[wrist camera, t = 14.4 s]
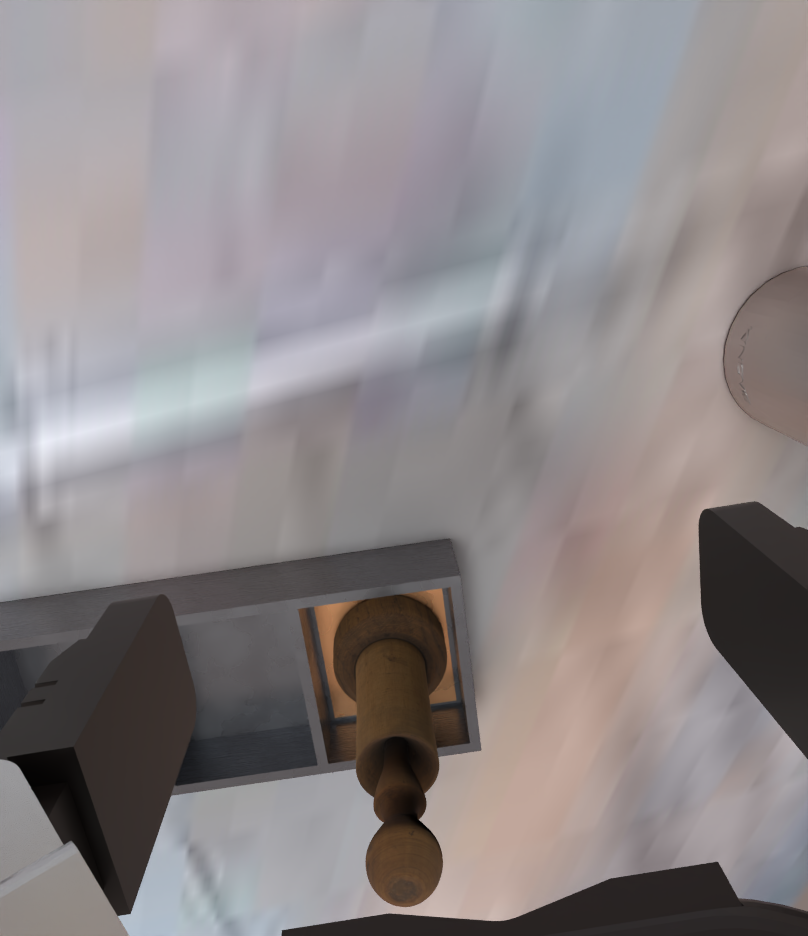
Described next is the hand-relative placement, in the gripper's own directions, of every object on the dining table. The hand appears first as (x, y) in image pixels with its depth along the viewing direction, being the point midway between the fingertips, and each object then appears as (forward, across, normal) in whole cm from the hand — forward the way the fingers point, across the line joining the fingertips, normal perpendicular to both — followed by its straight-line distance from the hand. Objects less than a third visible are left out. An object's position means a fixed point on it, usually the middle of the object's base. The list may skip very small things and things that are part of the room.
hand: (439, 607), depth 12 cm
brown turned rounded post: (+30, +3, +18) cm, 36 cm away
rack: (+32, +12, +18) cm, 38 cm away
